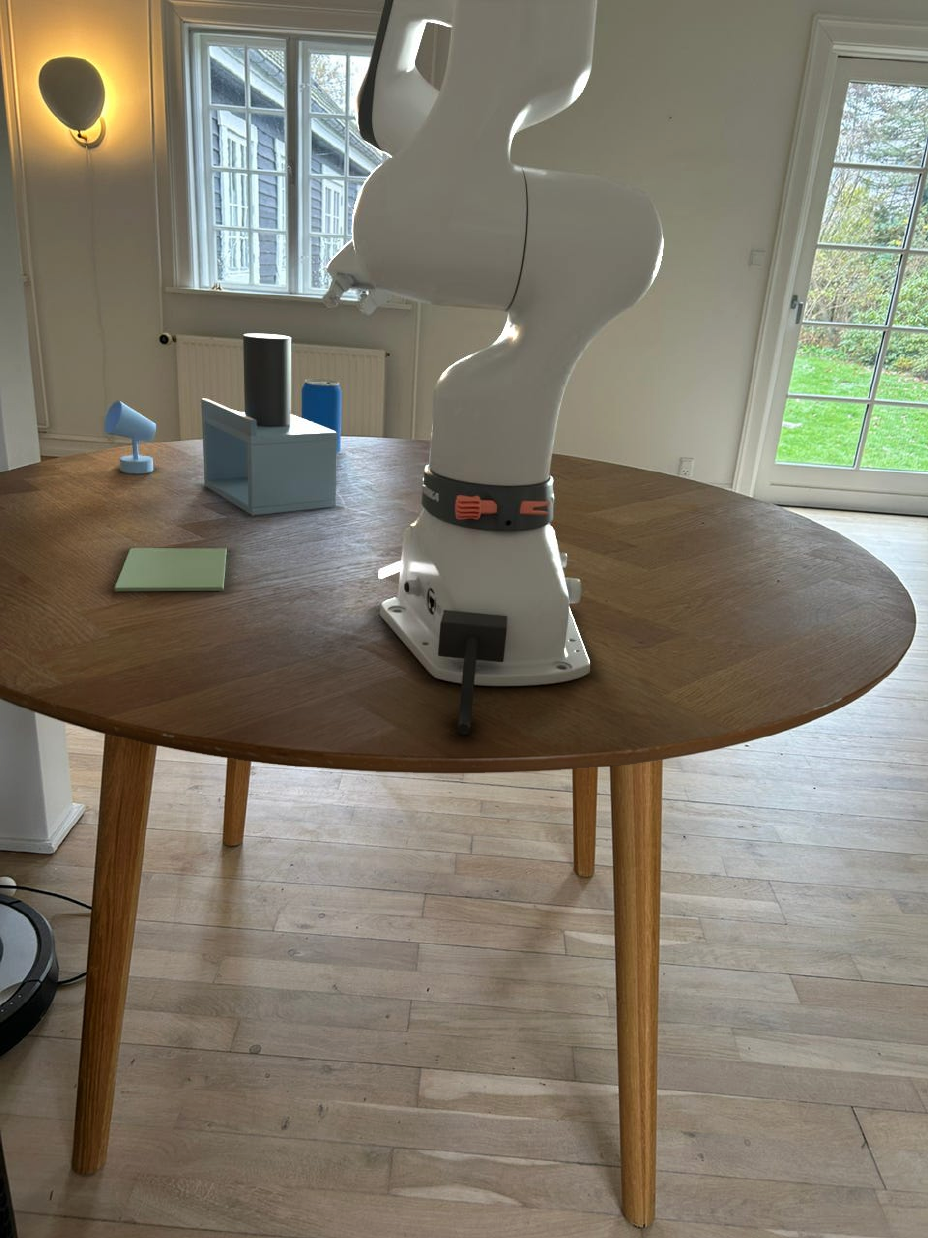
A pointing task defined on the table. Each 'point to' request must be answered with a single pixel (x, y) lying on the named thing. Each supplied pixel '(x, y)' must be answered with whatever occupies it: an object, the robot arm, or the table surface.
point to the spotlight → (130, 435)
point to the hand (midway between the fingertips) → (344, 307)
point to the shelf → (268, 462)
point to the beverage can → (323, 404)
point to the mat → (173, 569)
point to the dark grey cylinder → (267, 379)
